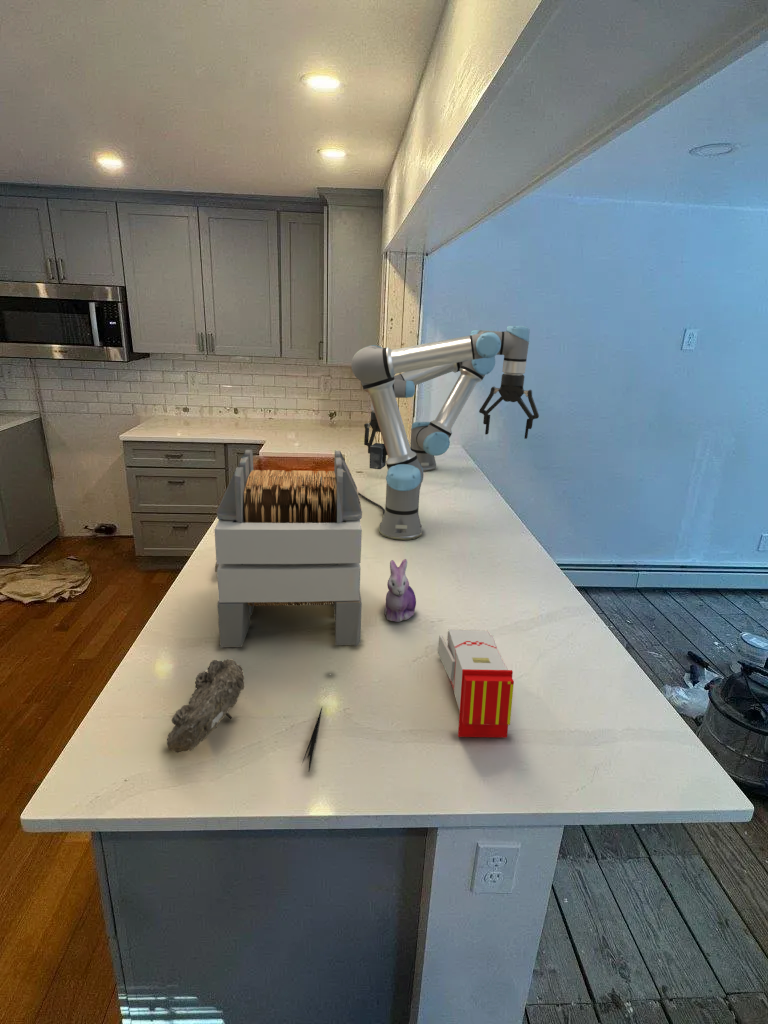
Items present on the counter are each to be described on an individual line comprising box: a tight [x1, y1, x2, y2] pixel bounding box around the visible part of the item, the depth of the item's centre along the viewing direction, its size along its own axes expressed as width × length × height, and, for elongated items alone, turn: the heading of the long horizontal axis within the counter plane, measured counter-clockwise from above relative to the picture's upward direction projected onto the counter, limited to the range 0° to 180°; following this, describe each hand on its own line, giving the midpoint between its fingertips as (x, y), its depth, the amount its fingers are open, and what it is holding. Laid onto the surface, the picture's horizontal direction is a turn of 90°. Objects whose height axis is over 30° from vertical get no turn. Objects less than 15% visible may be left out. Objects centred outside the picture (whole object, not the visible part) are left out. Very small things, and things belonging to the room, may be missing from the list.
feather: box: [301, 673, 332, 771], centre depth 108 cm, size 2×28×2 cm
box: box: [369, 442, 387, 470], centre depth 262 cm, size 8×6×11 cm
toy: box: [437, 628, 515, 738], centre depth 117 cm, size 12×13×30 cm
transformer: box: [214, 448, 363, 649], centre depth 139 cm, size 34×33×41 cm
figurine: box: [384, 558, 417, 623], centre depth 145 cm, size 9×10×15 cm
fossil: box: [166, 658, 245, 754], centre depth 106 cm, size 22×10×15 cm
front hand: (506, 435), depth 199 cm, fingers open, 13 cm apart
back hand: (377, 461), depth 263 cm, fingers closed on box, 6 cm apart
